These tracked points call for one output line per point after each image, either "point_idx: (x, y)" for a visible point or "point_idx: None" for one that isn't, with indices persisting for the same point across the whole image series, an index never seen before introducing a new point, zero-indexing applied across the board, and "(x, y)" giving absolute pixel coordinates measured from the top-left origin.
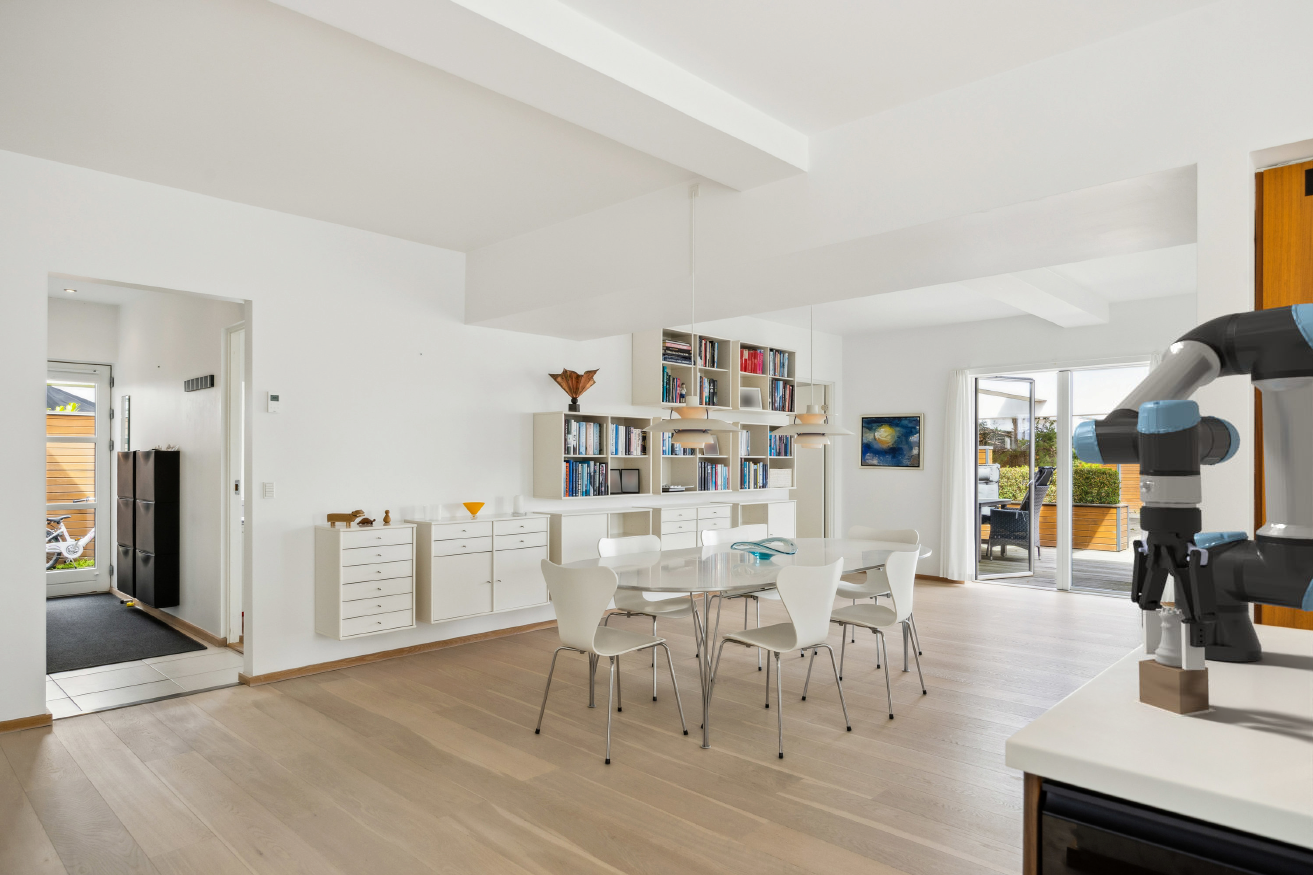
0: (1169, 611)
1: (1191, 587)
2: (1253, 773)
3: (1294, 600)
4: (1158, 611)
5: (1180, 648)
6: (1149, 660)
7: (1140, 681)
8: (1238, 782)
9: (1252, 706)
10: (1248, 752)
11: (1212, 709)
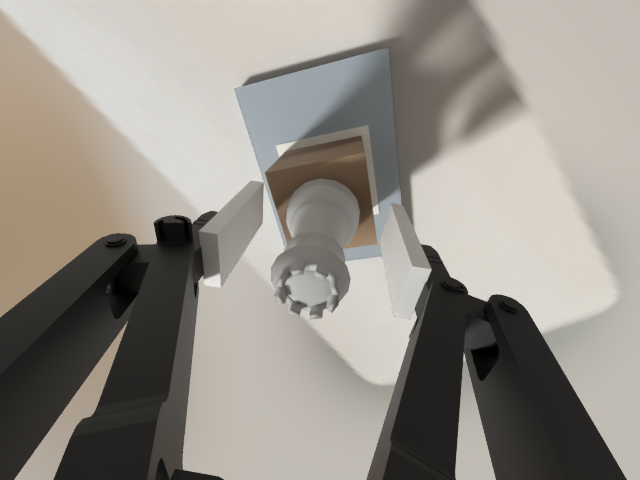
0: (307, 296)
1: (495, 469)
2: (538, 260)
3: None
4: (219, 250)
5: (347, 232)
6: (288, 233)
7: None
8: (542, 294)
9: None
10: (492, 205)
11: (362, 128)
